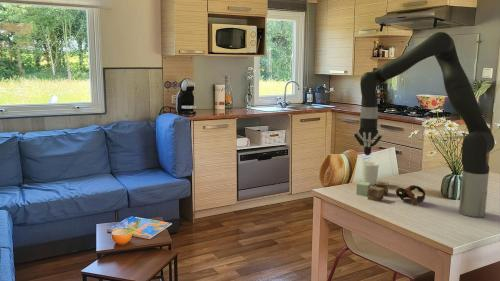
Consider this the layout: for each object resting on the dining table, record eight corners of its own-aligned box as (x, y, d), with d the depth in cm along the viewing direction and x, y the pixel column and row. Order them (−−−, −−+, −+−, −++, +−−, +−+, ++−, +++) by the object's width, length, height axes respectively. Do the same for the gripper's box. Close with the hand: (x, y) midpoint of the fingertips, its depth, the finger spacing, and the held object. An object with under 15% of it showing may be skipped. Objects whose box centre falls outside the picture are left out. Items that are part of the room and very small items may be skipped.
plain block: (370, 193, 204) (371, 183, 203) (367, 196, 200) (367, 185, 199) (359, 191, 206) (360, 181, 206) (356, 194, 202) (356, 183, 201)
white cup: (360, 184, 218) (361, 165, 216) (361, 180, 225) (362, 161, 224) (377, 186, 216) (378, 166, 214) (377, 182, 223) (378, 162, 221)
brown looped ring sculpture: (418, 199, 197) (426, 186, 192) (420, 214, 190) (428, 201, 184) (391, 191, 198) (399, 178, 192) (392, 206, 190) (400, 193, 185)
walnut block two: (383, 199, 196) (383, 187, 195) (378, 201, 192) (379, 190, 191) (372, 196, 199) (373, 185, 198) (367, 199, 195) (368, 188, 194)
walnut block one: (387, 192, 205) (388, 182, 204) (386, 195, 200) (387, 184, 199) (376, 191, 207) (377, 180, 206) (375, 194, 202) (376, 183, 201)
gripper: (386, 116, 198) (384, 154, 201) (357, 115, 205) (355, 152, 208) (381, 118, 192) (379, 157, 195) (351, 117, 199) (350, 154, 201)
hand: (367, 154), depth 201 cm, fingers closed
